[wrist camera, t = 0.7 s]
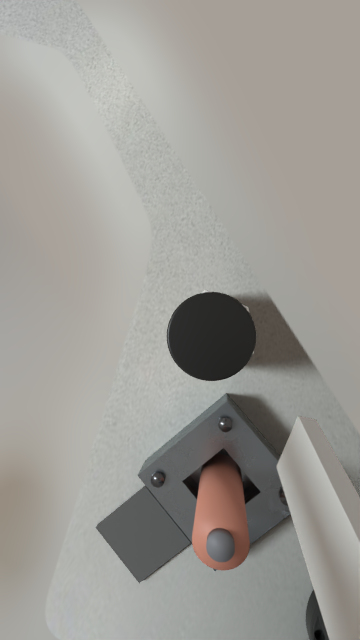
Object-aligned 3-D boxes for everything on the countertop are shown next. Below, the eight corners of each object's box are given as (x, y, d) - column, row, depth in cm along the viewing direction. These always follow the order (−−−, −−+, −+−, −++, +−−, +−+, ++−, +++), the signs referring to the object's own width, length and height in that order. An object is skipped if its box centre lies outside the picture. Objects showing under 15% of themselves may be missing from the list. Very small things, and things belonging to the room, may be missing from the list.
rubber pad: (191, 539, 41) (190, 542, 40) (140, 579, 42) (139, 583, 41) (146, 484, 42) (145, 486, 41) (97, 524, 43) (95, 527, 42)
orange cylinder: (249, 477, 39) (263, 555, 26) (219, 501, 40) (217, 589, 27) (222, 445, 39) (223, 507, 27) (192, 470, 40) (179, 541, 27)
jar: (259, 314, 40) (275, 313, 28) (234, 374, 40) (239, 397, 28) (193, 288, 41) (182, 275, 29) (170, 346, 41) (148, 357, 29)
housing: (301, 480, 39) (311, 502, 35) (215, 546, 41) (214, 575, 36) (226, 393, 40) (226, 402, 36) (145, 460, 42) (136, 477, 37)
